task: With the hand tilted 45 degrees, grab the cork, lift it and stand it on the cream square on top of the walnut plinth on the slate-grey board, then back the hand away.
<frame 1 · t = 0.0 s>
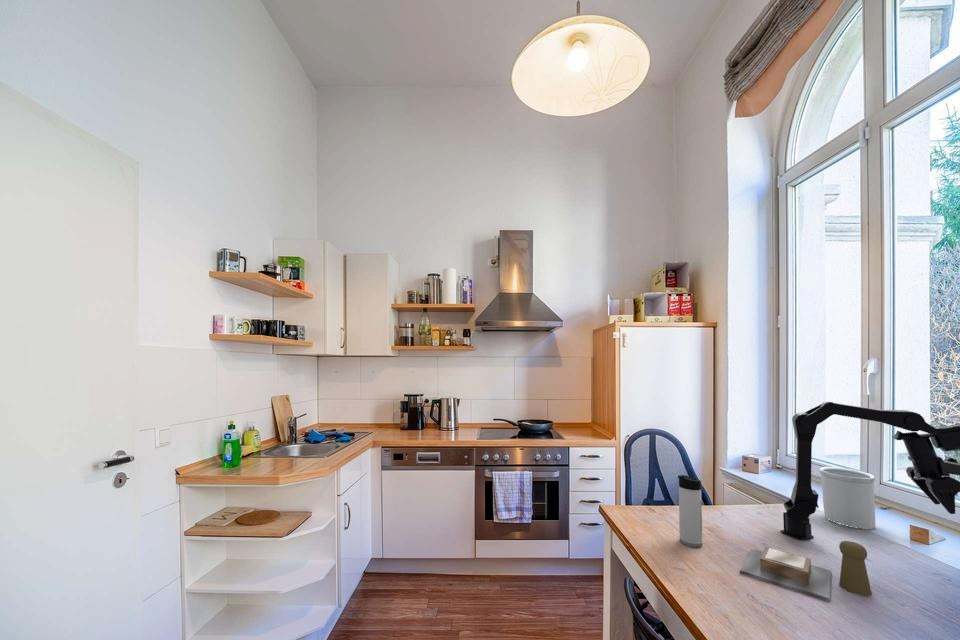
hand: (944, 508, 118), 15 cm above the table, tool pointing down, fingers open, 9 cm apart
utensil holder: (849, 522, 147), on the table
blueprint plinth: (786, 573, 108), on the table
cork: (855, 589, 102), on the table
travel mug: (690, 543, 125), on the table
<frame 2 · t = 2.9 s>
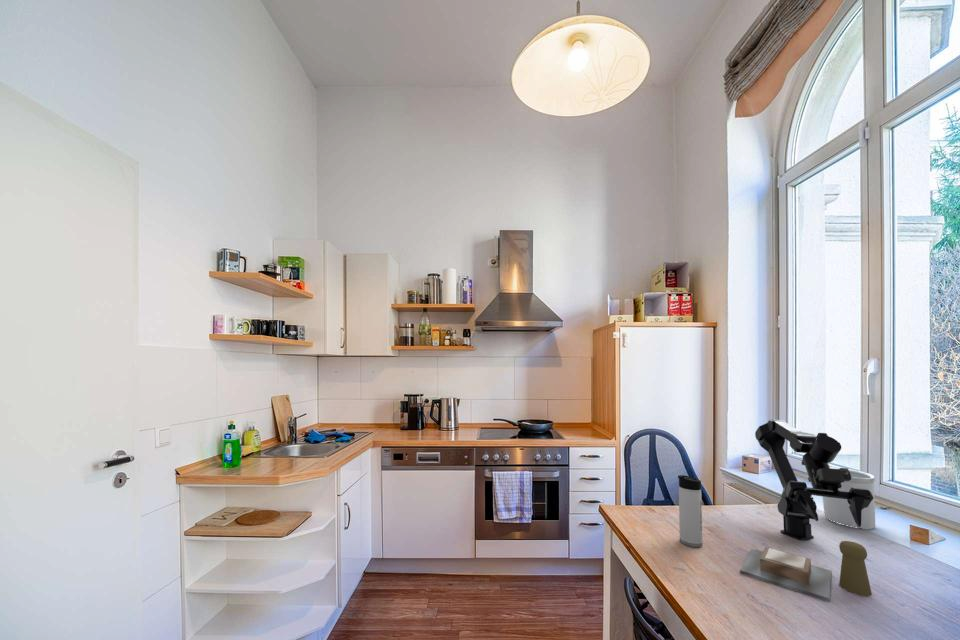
hand: (838, 523, 110), 13 cm above the table, tool tilted 45°, fingers open, 9 cm apart
nothing on the table moved.
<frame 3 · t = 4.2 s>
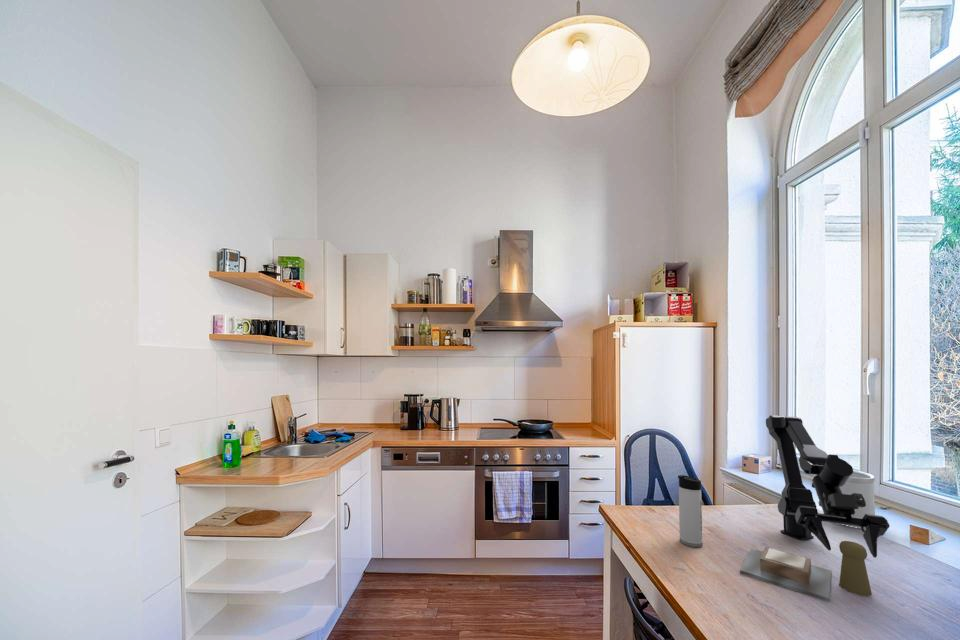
hand: (852, 553, 103), 8 cm above the table, tool tilted 45°, fingers open, 9 cm apart
nothing on the table moved.
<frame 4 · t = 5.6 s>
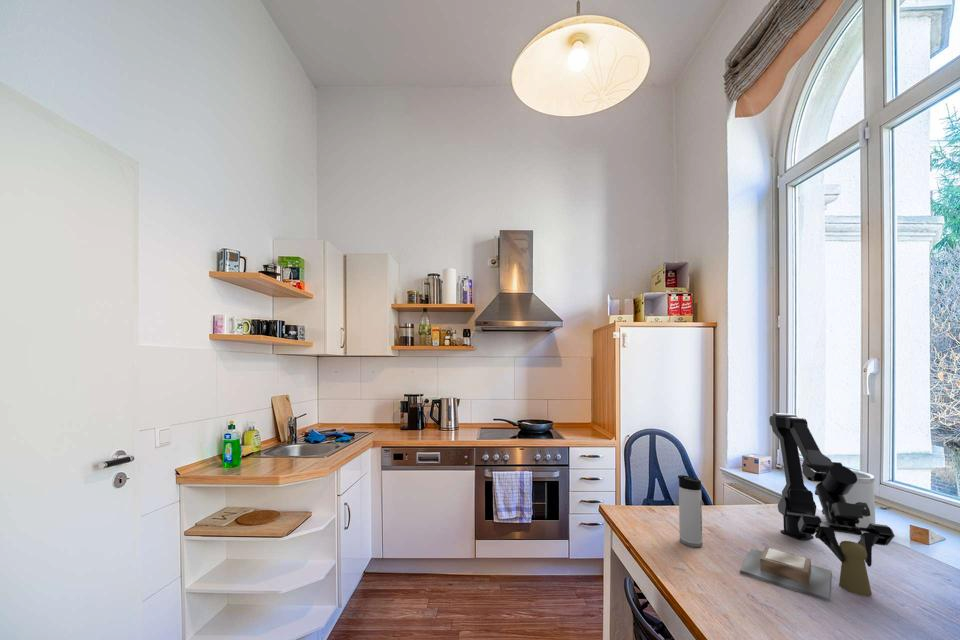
hand: (856, 563, 101), 7 cm above the table, tool tilted 45°, fingers closed on cork, 5 cm apart
cork: (855, 589, 102), on the table, touching gripper
everything else where it was.
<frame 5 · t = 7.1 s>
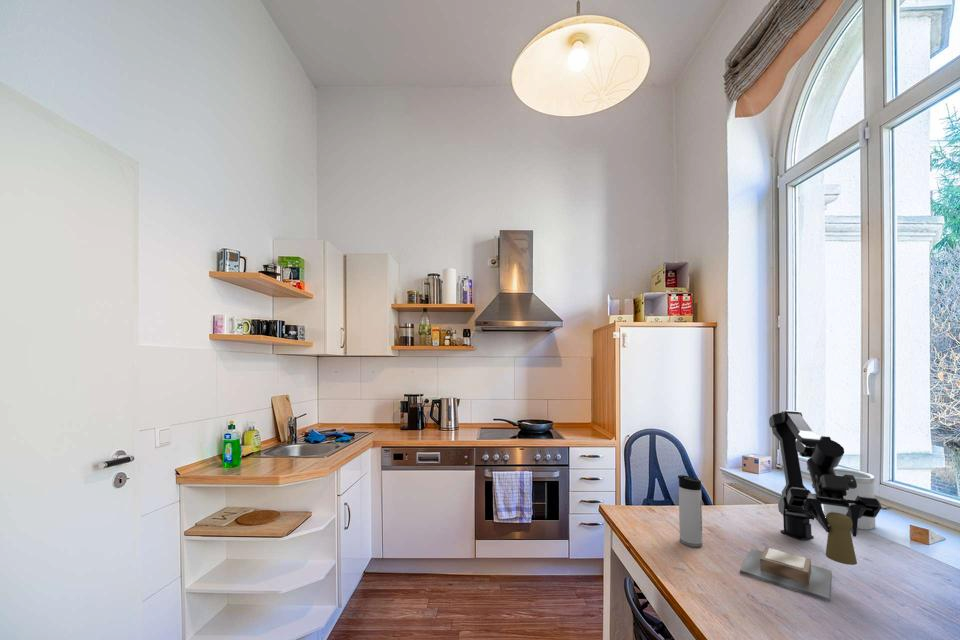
hand: (841, 533, 103), 13 cm above the table, tool tilted 45°, fingers closed on cork, 5 cm apart
cork: (841, 559, 103), point 6 cm above the table, touching gripper
everything else where it was.
when the fingers open (11 cm above the table, at t = 8.7 s): cork stays where it is, resting on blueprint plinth.
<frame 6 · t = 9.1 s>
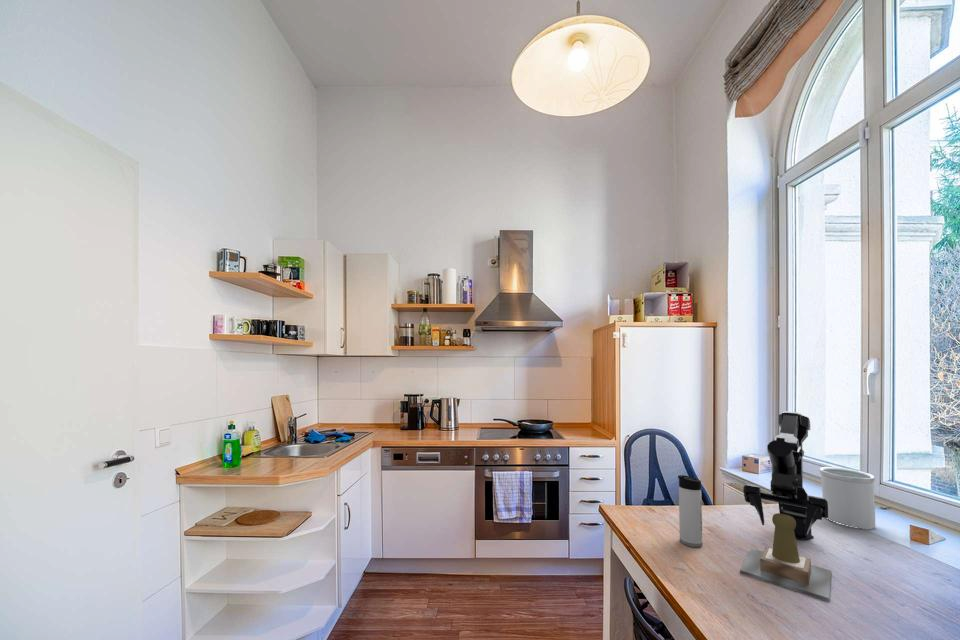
hand: (783, 529, 109), 12 cm above the table, tool tilted 45°, fingers open, 9 cm apart
cork: (785, 558, 109), point 4 cm above the table, touching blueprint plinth
everything else where it was.
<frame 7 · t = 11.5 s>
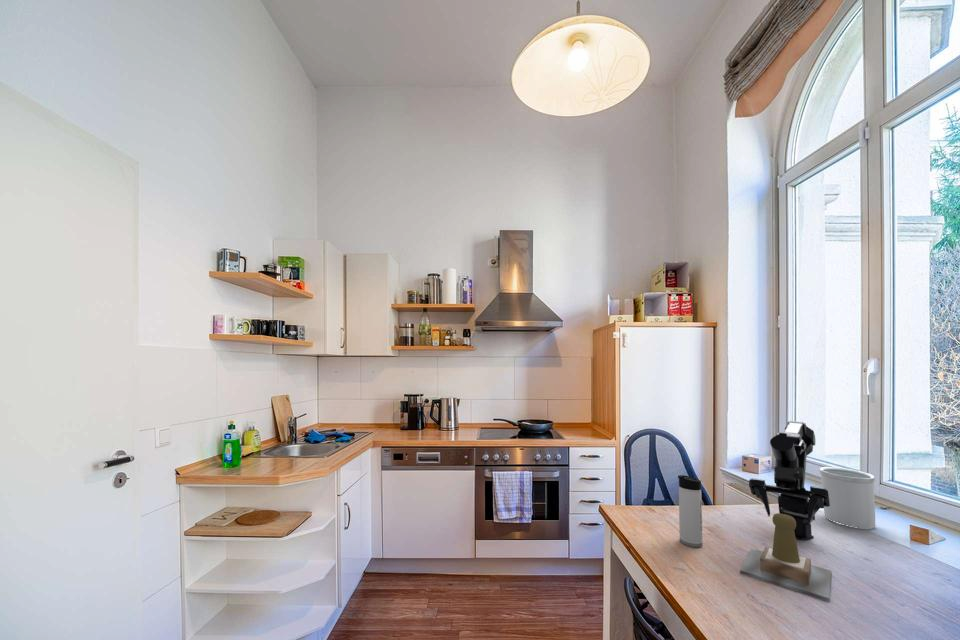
hand: (788, 519, 116), 12 cm above the table, tool tilted 40°, fingers open, 9 cm apart
nothing on the table moved.
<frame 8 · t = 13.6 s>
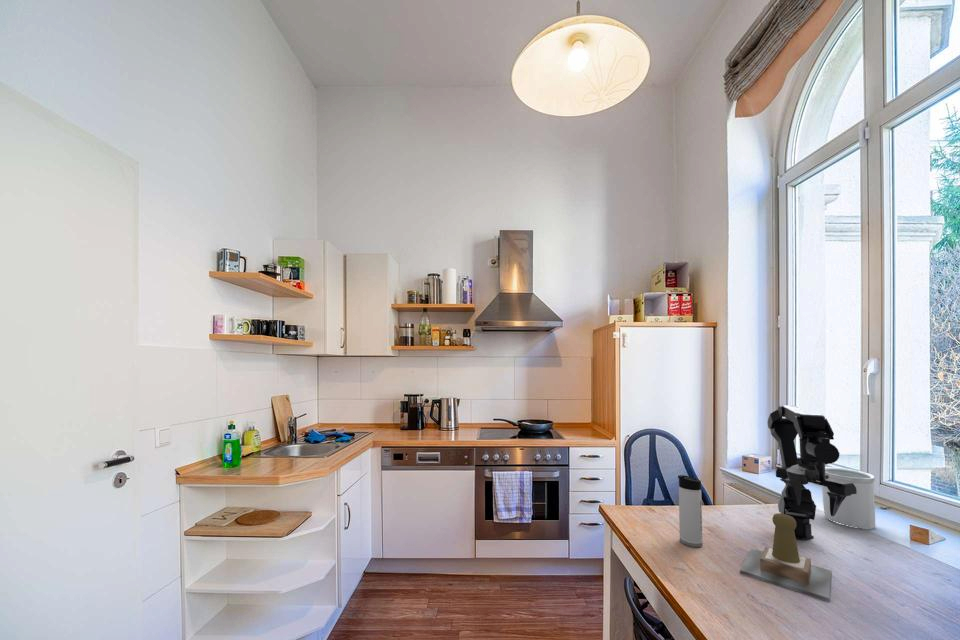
hand: (814, 510, 120), 13 cm above the table, tool pointing down, fingers open, 9 cm apart
nothing on the table moved.
at the end: cork 0.1 cm off-centre on the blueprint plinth, point 3.8 cm above the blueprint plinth's base; cork tilted 0°; the gripper is holding nothing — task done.
